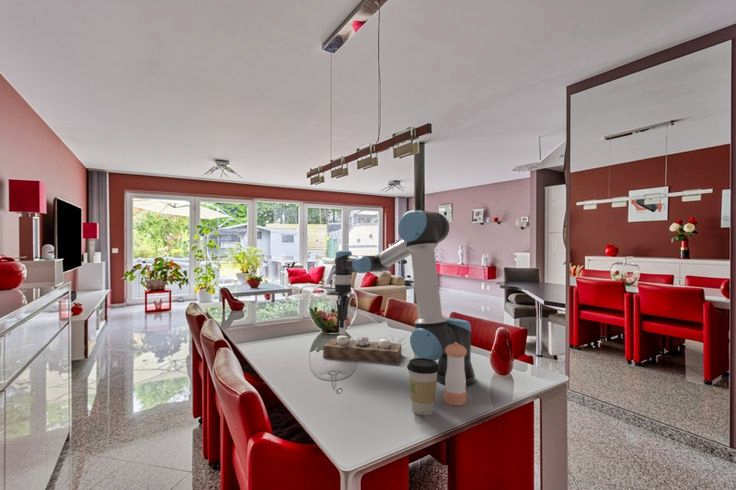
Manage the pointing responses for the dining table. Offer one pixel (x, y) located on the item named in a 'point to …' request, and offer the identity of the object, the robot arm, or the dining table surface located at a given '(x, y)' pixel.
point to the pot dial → (363, 342)
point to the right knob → (384, 343)
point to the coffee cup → (422, 384)
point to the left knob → (342, 340)
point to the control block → (362, 351)
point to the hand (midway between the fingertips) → (342, 334)
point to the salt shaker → (455, 375)
